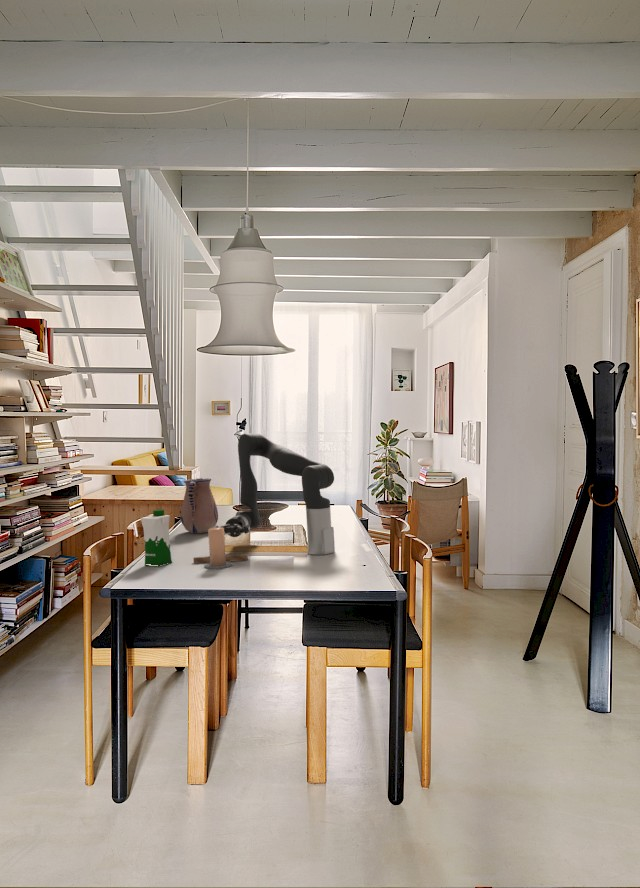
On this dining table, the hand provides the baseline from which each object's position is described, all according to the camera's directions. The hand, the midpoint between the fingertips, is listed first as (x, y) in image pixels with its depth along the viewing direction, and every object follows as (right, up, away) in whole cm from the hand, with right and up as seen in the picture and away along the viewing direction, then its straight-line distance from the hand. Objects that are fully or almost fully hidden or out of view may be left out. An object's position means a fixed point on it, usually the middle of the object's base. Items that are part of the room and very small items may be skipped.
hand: (225, 532), depth 270 cm
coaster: (-1, -11, -10) cm, 15 cm away
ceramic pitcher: (-21, -8, +67) cm, 71 cm away
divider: (-1, -10, -3) cm, 11 cm away
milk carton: (-25, -12, -2) cm, 27 cm away
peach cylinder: (-1, -10, -10) cm, 15 cm away
